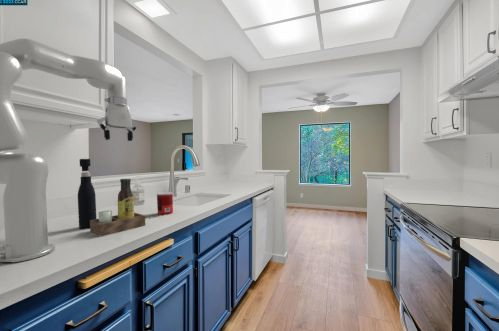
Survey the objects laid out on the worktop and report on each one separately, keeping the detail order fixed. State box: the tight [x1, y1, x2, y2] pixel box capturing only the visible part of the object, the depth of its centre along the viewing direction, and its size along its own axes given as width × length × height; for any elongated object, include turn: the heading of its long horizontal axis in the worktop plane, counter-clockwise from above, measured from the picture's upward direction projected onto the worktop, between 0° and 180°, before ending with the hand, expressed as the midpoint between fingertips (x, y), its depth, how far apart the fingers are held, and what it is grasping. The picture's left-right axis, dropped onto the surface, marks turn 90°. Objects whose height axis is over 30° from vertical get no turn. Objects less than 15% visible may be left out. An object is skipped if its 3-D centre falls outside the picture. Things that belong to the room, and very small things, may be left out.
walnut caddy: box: [89, 212, 146, 237], centre depth 99 cm, size 17×12×4 cm, turn 142°
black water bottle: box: [77, 158, 97, 230], centre depth 101 cm, size 6×6×30 cm
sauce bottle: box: [117, 178, 135, 220], centre depth 101 cm, size 6×6×20 cm
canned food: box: [156, 191, 174, 216], centre depth 125 cm, size 8×8×11 cm
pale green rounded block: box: [98, 210, 113, 224], centre depth 95 cm, size 5×5×7 cm
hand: (119, 140), depth 106 cm, fingers open, 9 cm apart
